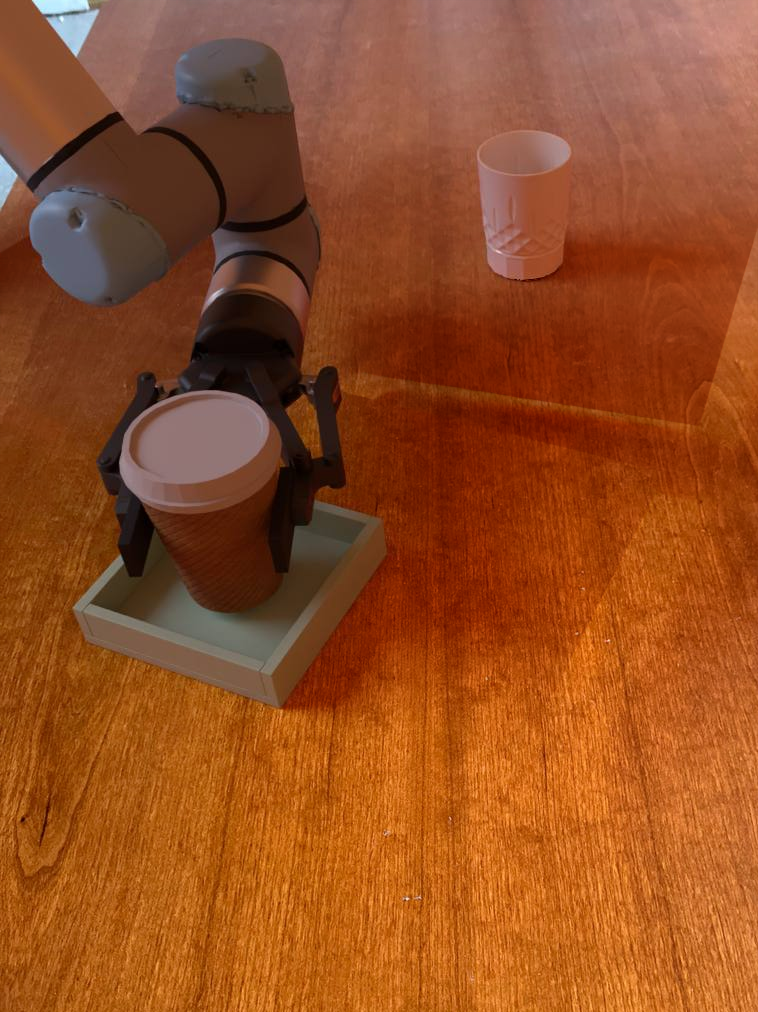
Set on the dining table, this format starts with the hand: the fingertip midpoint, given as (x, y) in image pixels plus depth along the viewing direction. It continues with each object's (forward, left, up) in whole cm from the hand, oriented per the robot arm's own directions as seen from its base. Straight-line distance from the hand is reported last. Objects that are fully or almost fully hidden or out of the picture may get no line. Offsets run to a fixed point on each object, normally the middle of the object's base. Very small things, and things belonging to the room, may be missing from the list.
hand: (203, 558), depth 70 cm
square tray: (-2, +4, -8) cm, 10 cm away
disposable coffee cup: (-2, +4, -7) cm, 8 cm away
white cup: (0, +49, -9) cm, 50 cm away
